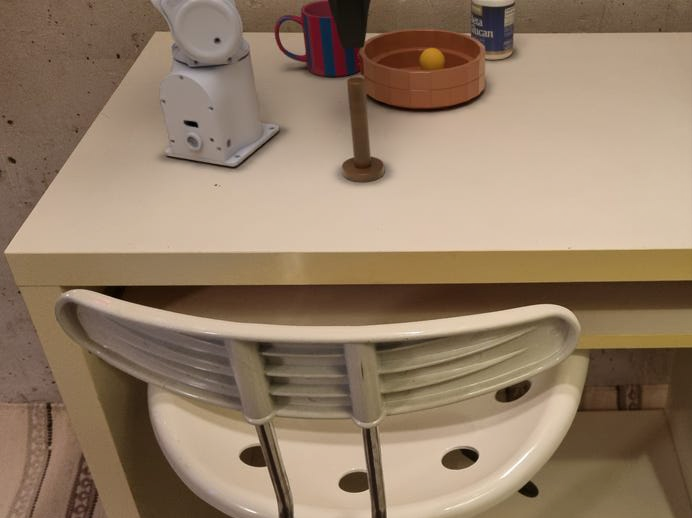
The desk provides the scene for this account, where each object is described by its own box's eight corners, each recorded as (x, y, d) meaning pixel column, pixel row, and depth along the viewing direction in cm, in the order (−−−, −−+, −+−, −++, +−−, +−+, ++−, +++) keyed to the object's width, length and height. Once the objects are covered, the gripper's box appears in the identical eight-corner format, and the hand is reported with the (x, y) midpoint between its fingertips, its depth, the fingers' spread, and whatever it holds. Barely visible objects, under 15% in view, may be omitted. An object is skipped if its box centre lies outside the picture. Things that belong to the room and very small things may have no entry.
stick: (374, 184, 80) (367, 91, 74) (335, 178, 81) (326, 85, 75) (390, 166, 83) (385, 75, 77) (353, 160, 84) (344, 69, 78)
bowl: (461, 120, 92) (462, 79, 89) (342, 103, 95) (338, 62, 92) (499, 75, 102) (500, 36, 99) (390, 60, 105) (388, 23, 102)
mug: (364, 76, 101) (359, 16, 96) (279, 79, 100) (270, 19, 95) (361, 56, 106) (357, -1, 101) (281, 59, 105) (273, 1, 100)
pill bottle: (462, 55, 107) (463, -28, 100) (482, 43, 110) (484, -38, 104) (501, 63, 105) (503, -21, 98) (519, 50, 108) (523, -32, 102)
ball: (440, 80, 99) (439, 54, 97) (416, 77, 99) (415, 51, 97) (448, 71, 101) (448, 46, 99) (424, 68, 101) (424, 43, 100)
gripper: (391, -110, 70) (399, 56, 79) (369, -141, 81) (378, 9, 90) (305, -107, 69) (323, 61, 78) (294, -139, 79) (312, 12, 88)
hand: (348, 33), depth 84 cm, fingers open, 7 cm apart
